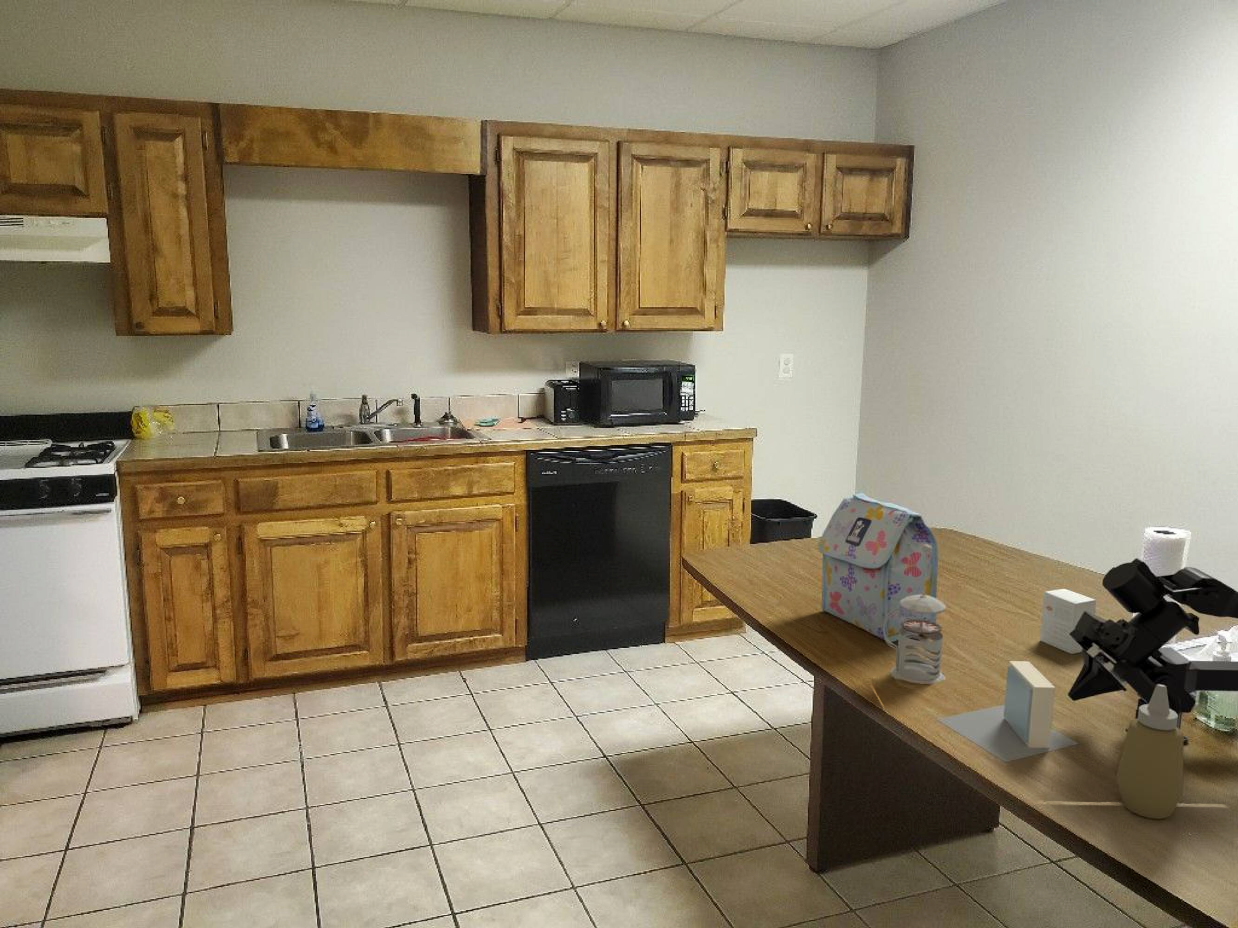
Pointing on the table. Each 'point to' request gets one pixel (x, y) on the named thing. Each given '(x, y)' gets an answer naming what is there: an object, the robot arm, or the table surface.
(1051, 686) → the tile
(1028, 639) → the table surface
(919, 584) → the lunch bag
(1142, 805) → the squeeze bottle
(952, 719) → the mat
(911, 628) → the french press
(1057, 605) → the small box
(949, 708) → the table surface
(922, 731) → the table surface
